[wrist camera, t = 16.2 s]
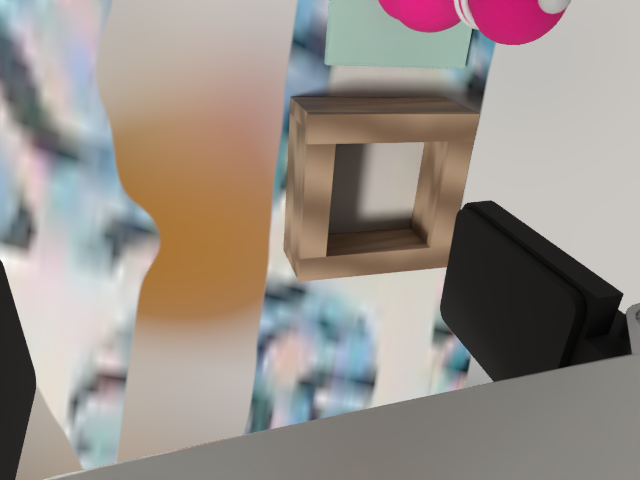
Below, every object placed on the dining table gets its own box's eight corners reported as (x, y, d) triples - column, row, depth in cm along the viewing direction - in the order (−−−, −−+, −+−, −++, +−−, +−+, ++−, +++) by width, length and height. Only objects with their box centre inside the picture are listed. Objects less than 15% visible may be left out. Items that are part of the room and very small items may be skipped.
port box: (290, 96, 48) (309, 114, 43) (445, 97, 52) (480, 113, 47) (283, 250, 55) (299, 281, 50) (420, 239, 60) (447, 267, 55)
